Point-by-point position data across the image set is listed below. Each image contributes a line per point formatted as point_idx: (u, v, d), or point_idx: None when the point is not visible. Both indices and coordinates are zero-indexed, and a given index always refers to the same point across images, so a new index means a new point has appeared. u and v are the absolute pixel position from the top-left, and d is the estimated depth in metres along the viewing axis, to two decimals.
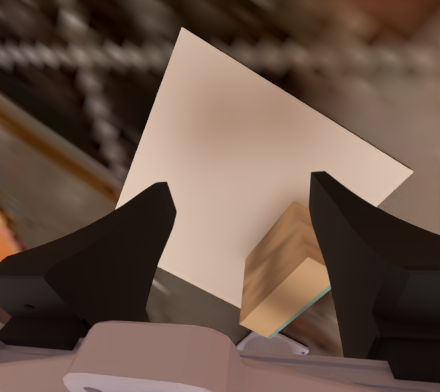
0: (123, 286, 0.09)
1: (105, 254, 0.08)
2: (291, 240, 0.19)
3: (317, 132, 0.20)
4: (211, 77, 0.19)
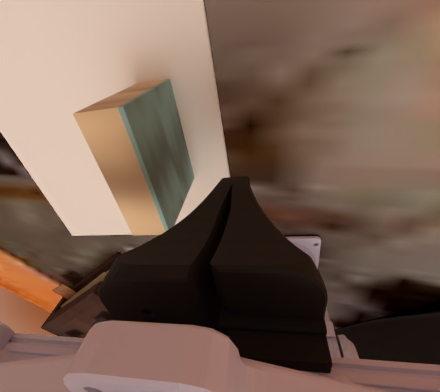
0: None
1: (211, 253, 0.07)
2: None
3: None
4: None
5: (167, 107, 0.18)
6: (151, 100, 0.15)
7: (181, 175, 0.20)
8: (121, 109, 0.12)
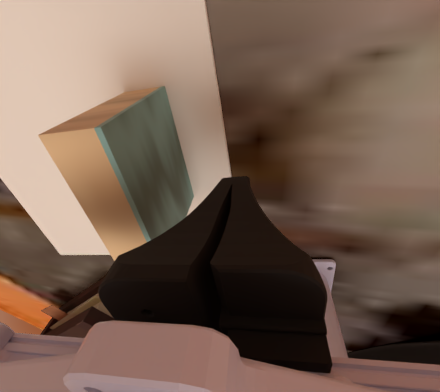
0: None
1: (211, 254, 0.07)
2: None
3: None
4: None
5: (161, 120, 0.15)
6: (141, 114, 0.13)
7: (178, 197, 0.17)
8: (99, 130, 0.10)
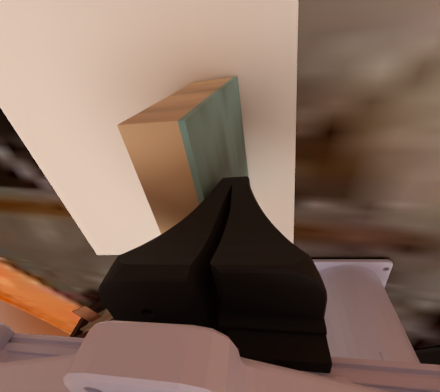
0: None
1: (211, 254, 0.07)
2: None
3: None
4: None
5: (232, 114, 0.14)
6: (217, 107, 0.11)
7: None
8: (182, 123, 0.09)
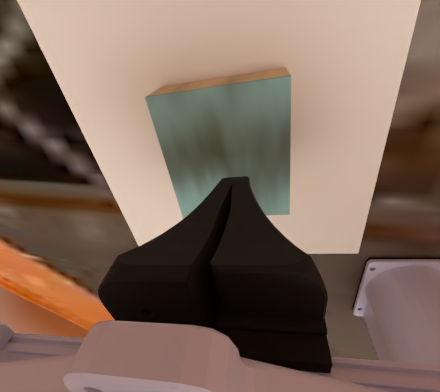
0: None
1: (211, 254, 0.07)
2: None
3: None
4: None
5: (251, 113, 0.13)
6: (207, 99, 0.13)
7: None
8: None
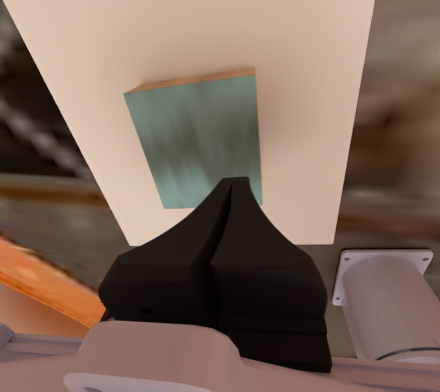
0: None
1: (211, 254, 0.07)
2: None
3: None
4: None
5: (221, 110, 0.14)
6: (180, 96, 0.14)
7: None
8: None
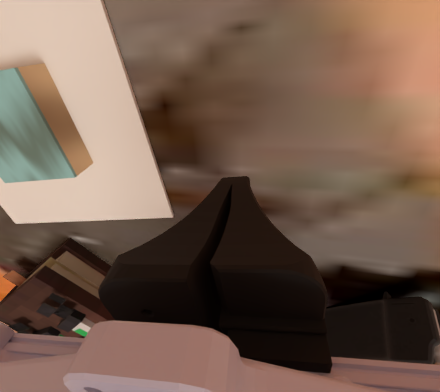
0: None
1: (211, 254, 0.07)
2: None
3: None
4: None
5: (5, 96, 0.18)
6: None
7: (34, 160, 0.21)
8: None
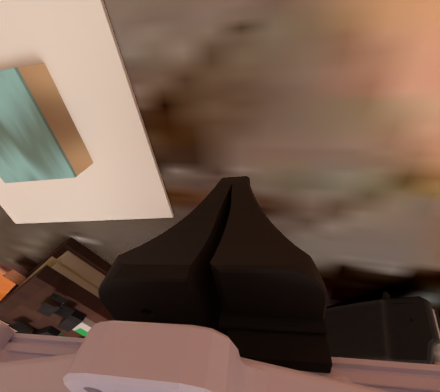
0: None
1: (211, 254, 0.07)
2: None
3: None
4: None
5: (5, 96, 0.18)
6: None
7: (34, 160, 0.21)
8: None
